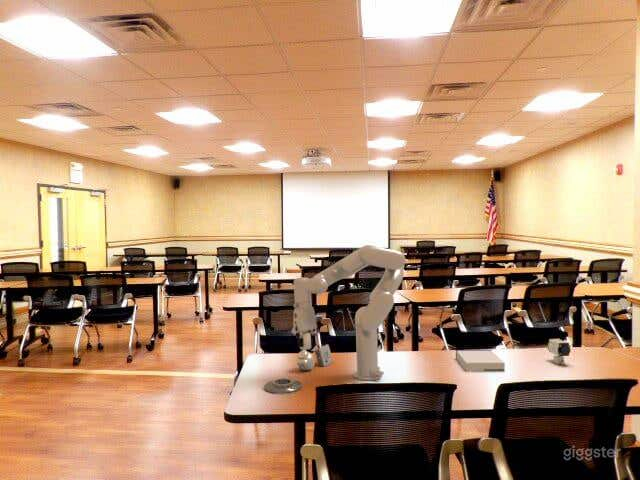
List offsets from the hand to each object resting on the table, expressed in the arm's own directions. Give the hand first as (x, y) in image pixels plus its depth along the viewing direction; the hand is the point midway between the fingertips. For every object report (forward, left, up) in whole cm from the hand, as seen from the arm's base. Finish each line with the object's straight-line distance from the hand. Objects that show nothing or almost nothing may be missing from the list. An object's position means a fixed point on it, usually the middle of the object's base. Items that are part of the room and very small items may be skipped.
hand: (305, 344), depth 214 cm
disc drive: (-45, -72, -16) cm, 86 cm away
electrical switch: (+11, -22, -16) cm, 29 cm away
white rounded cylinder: (0, 0, -2) cm, 2 cm away
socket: (-2, +14, -15) cm, 21 cm away
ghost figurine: (+10, -9, -16) cm, 21 cm away
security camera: (-71, -100, -16) cm, 123 cm away
